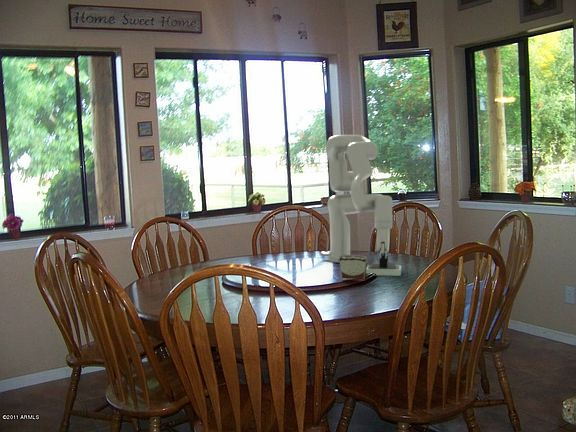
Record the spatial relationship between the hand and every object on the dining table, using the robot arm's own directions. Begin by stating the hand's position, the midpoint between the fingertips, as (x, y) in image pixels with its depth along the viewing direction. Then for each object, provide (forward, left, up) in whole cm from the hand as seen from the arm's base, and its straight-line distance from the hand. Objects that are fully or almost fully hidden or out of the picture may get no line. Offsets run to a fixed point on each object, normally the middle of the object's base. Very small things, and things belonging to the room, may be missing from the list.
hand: (383, 265), depth 279 cm
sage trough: (0, 0, -3) cm, 3 cm away
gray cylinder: (0, 0, -3) cm, 3 cm away
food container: (-11, -13, -3) cm, 18 cm away
